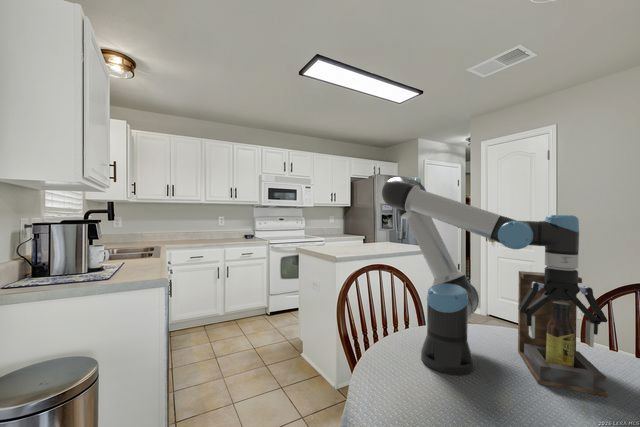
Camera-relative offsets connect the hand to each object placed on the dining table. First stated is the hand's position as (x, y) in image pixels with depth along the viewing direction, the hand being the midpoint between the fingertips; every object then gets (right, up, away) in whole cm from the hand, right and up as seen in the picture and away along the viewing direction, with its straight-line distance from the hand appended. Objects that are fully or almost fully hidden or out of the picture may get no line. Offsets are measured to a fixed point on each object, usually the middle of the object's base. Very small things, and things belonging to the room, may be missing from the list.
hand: (559, 340), depth 84 cm
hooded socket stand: (+1, -10, +2) cm, 10 cm away
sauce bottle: (0, -9, 0) cm, 9 cm away
